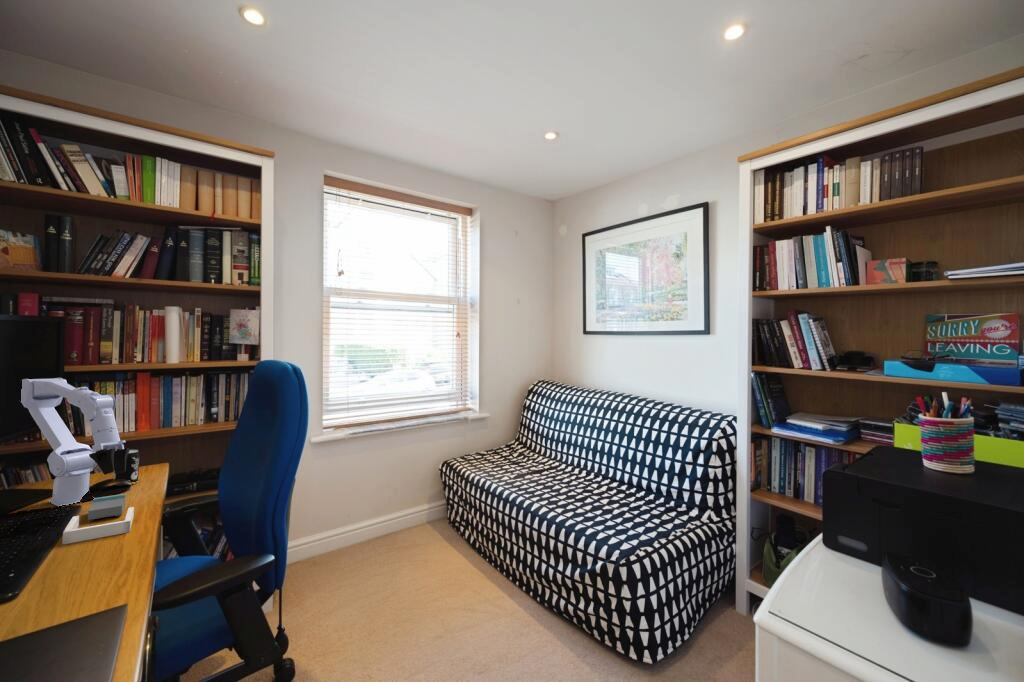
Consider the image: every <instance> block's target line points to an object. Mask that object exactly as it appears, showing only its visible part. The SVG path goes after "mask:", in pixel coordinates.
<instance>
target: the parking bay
mask: <svg viewBox="0 0 1024 682" xmlns="http://www.w3.org/2000/svg"><path fill="white" fill-rule="evenodd" d="M134 513H135V506H130V507H128V509H127V511H126V515H125V519H124V520H120V521H115V522H107V523H103V524H97V525H92V526H85V527H80V528H79V526H80V515H75V516H74V515H73V516H72V518H71V519H70V521H69V522H68V524H67V525H66V527H65V529H64V530H63V532H62V543H61V544H62V546H63V545H68V544H73V543H78V542H84V541H90V540H93V539H94V540H95V539H99V538H105V537H109V536H110V537H111V536H116V535H120V534H121V535H122V534H126V533H131V528H132V525H133V520H134V517H135V515H134Z"/></svg>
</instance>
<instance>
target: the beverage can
mask: <svg viewBox="0 0 1024 682" xmlns="http://www.w3.org/2000/svg"><path fill="white" fill-rule="evenodd" d="M139 468H140V453H139V450H138V449H129V453H128V455H127V459H126V471H125V472H121V473H118V474H116V472H115V470H114V472H113V480H114V479H125V480H130V481H131V482H136V481H139V471H140V470H139ZM136 483H137V482H136Z"/></svg>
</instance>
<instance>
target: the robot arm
mask: <svg viewBox="0 0 1024 682" xmlns="http://www.w3.org/2000/svg"><path fill="white" fill-rule="evenodd" d="M21 380H22V389H21V401H20V403H21V404H22V406H23V407H24V408H26V409H28V412H29V413H30V415H31V417H32V418H33V421H35V423H36V425H37V426H38V428H39V430H40V431H41V432H42V434H43V436H44V437H45V439H46V440H47V442H48V444H49V445H50V447H51V448H52V452H50V454H49V455H48V457H47V459H46V461H47V463H48V468H49V471H50V473H51V474H53V476H54V477H55V478H54V480H53V484H52V485H53V486H52V499H48V500H47V502H48V501H49V502H48V503H50V502H51V503H50V504H52V505H55V506H57V507H59V506H62V505H66V506H70V505H69V504H71V505H74V504H73V503H75V504H78V503H77V502H80V500H81V499H82V497H83V496H84V495H85V494H86V493H87V492H88V491H89V492H90V477H91V476H90V475H91V472H93V471H94V468H96V467H97V466H98V467H99V468H100V470H101V472H102V474H103V475H104V476H106V475H108V474H112V473H114V470H115V472H116V474H118V473H121V472H125V471H126V459H127V455H128V453H129V450H130V448H129V447H126V448H125V445H124V444H125V443H126V442H127V441H126V440H124V439H123V440H122V439H121V438H120V433H119V431H118V430H119V429H118V425H117V421H116V417H115V413H114V410H115V409H116V406H117V401H116V398H115V397H114V396H113V394H109V393H108V394H107V393H106V394H103V395H102V394H101V393H99V392H97V391H93V390H90V389H89V387H87V386H80V387H75V386H74V385H71V384H69V383H68V382H67V379H65V378H62V377H55V378H54V377H53V378H32V379H29V378H23V379H21ZM63 398H66V401H67V402H68V403H69V404H71V405H73V406H75V407H77V408H80V411H81V413H82V415H84V416H85V419H86V420H87V421H89V425H90V430H91V434H92V437H93V443H94V444H93V445H91V447H90V445H88V444H84V443H80V442H77V440H76V439H75V438H74V436H73V435H72V432H71V431H70V429H69V428H68V426H67V425H66V424H65V422H64V420H63V419H62V418H61V416H60V415H59V413H58V411H57V410H56V409H55V407H57V406H59V405H61V403H62V401H63ZM80 503H81V502H80ZM62 507H63V506H62Z"/></svg>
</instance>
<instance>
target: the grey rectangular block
mask: <svg viewBox="0 0 1024 682" xmlns="http://www.w3.org/2000/svg"><path fill="white" fill-rule="evenodd" d="M126 496H127V495H126V493H122V494H116V495H115V494H114V495H108V496H101V497H93V498H94V499H93V500H92V501H93V502H92V503H91V506H90V507H89V509H88V511H87V512H88V513H87V520H88V522H94V521H95V519H96V520H97V519H101V518H108V517H114V516H115V517H116V518H120V517H122V515H123V512H124V508H125V506H126Z"/></svg>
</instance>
